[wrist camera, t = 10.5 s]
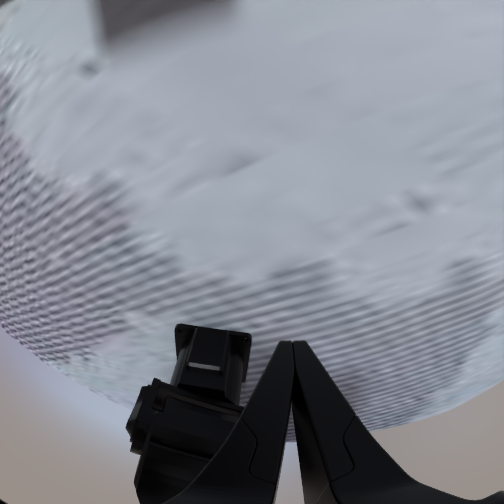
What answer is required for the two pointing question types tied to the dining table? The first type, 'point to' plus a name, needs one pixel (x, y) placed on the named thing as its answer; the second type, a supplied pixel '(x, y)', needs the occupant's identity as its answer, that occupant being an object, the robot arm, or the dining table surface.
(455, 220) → the dining table surface
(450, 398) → the dining table surface
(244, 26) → the dining table surface
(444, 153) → the dining table surface
